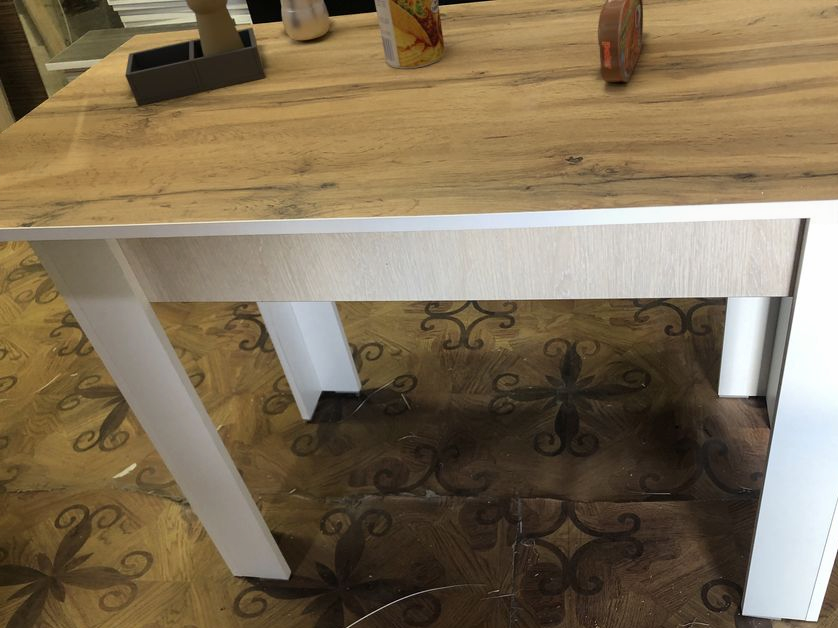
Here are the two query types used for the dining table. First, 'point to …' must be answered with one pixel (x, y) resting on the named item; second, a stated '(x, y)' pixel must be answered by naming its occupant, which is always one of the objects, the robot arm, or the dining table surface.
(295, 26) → the plastic bottle
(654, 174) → the dining table surface
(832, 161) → the dining table surface
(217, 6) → the cork
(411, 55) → the canned food
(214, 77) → the divided storage box
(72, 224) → the dining table surface
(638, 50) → the tin
